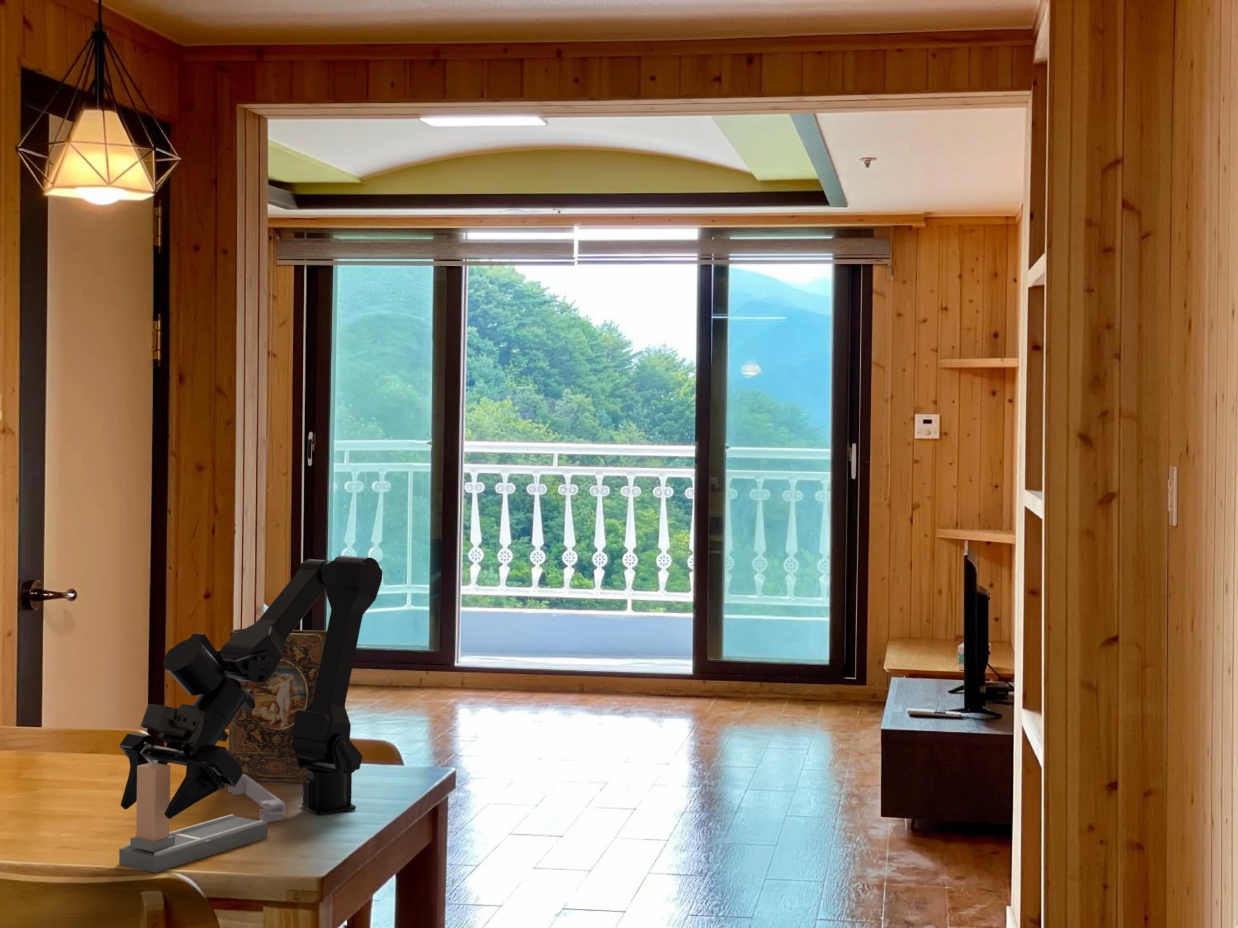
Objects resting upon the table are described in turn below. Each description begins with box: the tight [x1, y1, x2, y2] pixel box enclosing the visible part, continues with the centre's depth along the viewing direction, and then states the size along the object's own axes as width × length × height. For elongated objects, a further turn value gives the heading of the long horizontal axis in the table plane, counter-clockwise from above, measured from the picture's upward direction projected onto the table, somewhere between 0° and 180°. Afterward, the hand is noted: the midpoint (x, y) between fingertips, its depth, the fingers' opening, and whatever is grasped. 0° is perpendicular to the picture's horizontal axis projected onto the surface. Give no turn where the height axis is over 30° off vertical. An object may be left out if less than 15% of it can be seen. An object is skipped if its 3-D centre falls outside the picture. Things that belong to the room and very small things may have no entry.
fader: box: [129, 762, 175, 852], centre depth 179 cm, size 4×4×11 cm
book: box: [228, 628, 327, 786], centre depth 227 cm, size 16×6×25 cm, turn 84°
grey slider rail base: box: [118, 813, 269, 874], centre depth 186 cm, size 20×7×2 cm, turn 150°
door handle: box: [227, 774, 286, 823], centre depth 209 cm, size 21×3×3 cm, turn 31°
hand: (144, 811), depth 178 cm, fingers open, 8 cm apart
